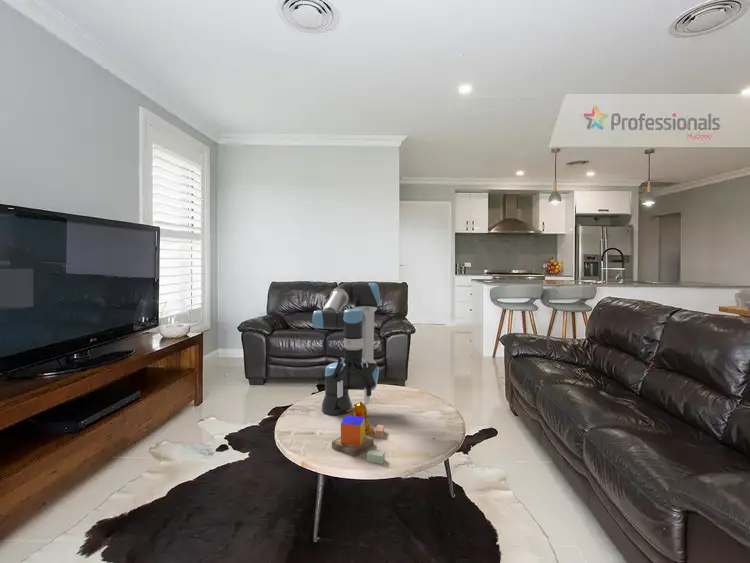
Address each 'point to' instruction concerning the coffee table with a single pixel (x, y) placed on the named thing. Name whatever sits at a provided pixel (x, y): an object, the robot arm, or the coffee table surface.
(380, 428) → the terracotta brick
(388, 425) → the coffee table surface
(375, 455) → the sage brick
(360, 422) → the cube
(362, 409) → the figurine
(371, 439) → the walnut slab
